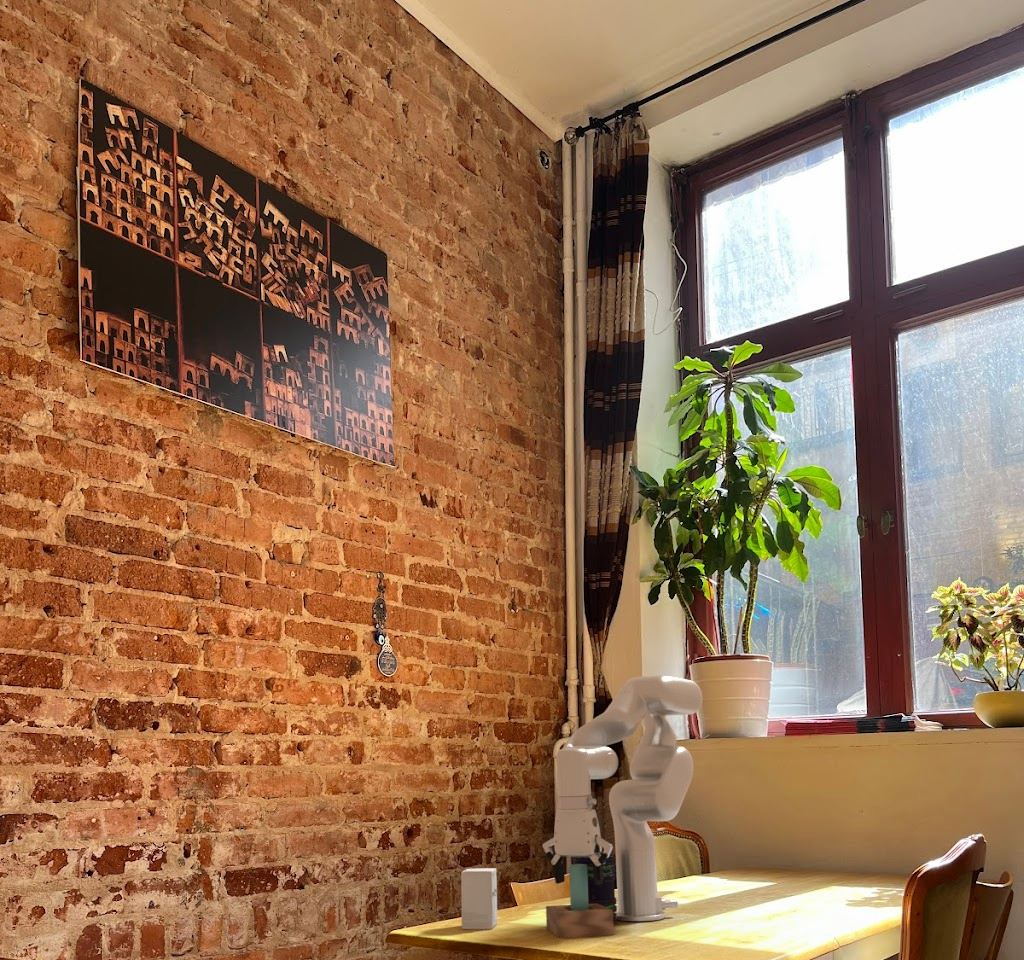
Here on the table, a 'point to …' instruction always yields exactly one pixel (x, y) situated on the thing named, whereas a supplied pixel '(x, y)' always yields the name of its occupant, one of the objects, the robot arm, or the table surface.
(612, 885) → the storage jar
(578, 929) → the brown wooden base
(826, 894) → the table surface
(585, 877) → the teal peg
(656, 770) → the robot arm
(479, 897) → the supplement box
